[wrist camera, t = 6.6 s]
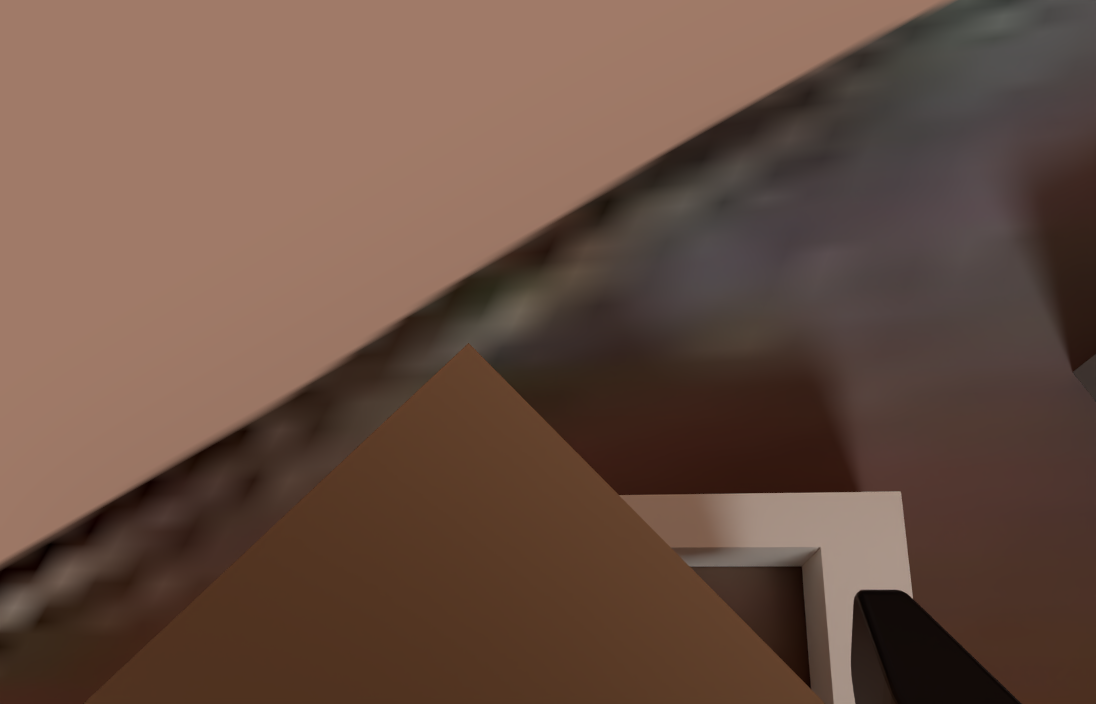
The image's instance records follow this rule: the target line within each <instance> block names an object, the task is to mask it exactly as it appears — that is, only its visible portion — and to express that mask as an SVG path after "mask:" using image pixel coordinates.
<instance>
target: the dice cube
mask: <svg viewBox="0 0 1096 704" xmlns="http://www.w3.org/2000/svg"><path fill="white" fill-rule="evenodd" d="M1073 373H1074V375H1075V376H1076V377H1077V378H1078V380H1079V381H1080V382H1081V383H1082V385H1083V386H1084V387H1085V388H1086V390H1087V391H1088V392H1089V393H1090V395H1091V396H1092V397H1093V398H1094V400H1095V401H1096V354H1095V355H1094V356H1093V357H1091V358H1090V359H1089V360H1087V361H1086V362H1085V363H1084V364H1082V365H1081V366H1080V367H1079V368H1077V369H1076V370H1075V371H1074V372H1073Z"/></svg>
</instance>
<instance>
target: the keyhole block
mask: <svg viewBox="0 0 1096 704" xmlns="http://www.w3.org/2000/svg"><path fill="white" fill-rule="evenodd" d="M619 496H620V497H621V498H622V499H623V500H624V501H625V502H626V503H627V504H628V505H629V506H630V507H631V508H632V509H633V510H634V511H635V512H636V513H637V514H638V515H639V516H640V517H641V518H642V519H643V520H644V521H645V522H646V523H647V524H648V525H649V526H650V527H651V528H652V529H653V530H654V531H655V532H656V533H657V534H658V535H659V536H660V537H661V538H662V539H663V540H664V541H665V542H666V543H667V544H668V545H669V546H670V547H671V548H672V549H673V550H674V551H675V552H676V553H677V554H678V555H679V556H680V557H681V558H682V559H683V560H684V561H685V562H686V563H687V564H688V565H689V566H802V576H803V590H804V603H805V616H806V630H807V643H808V657H809V670H810V683H811V690H812V691H813V692H814V693H815V694H816V695H817V696H818V697H819V698H820V699H821V700H822V701H823V702H824V703H825V704H855V698H854V692H853V685H852V677H851V642H852V621H853V602H854V597H855V595H856V593H857V592H859V591H860V590H901V591H903V592H905V593H907V594H908V595H909V596H910V597H911V598H912V599H913V595H912V586H911V578H910V569H909V560H908V551H907V542H906V533H905V525H904V516H903V507H902V498H901V492H825V493H748V494H671V495H619Z"/></svg>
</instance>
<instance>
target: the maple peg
mask: <svg viewBox="0 0 1096 704" xmlns="http://www.w3.org/2000/svg"><path fill="white" fill-rule="evenodd" d="M84 704H825V703H824V702H823V701H822V700H821V699H820V698H819V697H818V696H817V695H816V694H815V693H814V692H813V691H812V690H811V689H810V688H809V687H808V686H807V685H806V684H805V683H804V682H803V681H802V680H801V679H800V678H799V677H798V676H797V675H796V674H795V673H794V672H793V671H792V670H791V669H790V668H789V667H788V665H787V664H786V663H785V662H784V661H783V660H782V659H781V658H780V657H779V656H778V655H777V654H776V653H775V652H774V651H773V650H772V649H771V648H770V647H769V646H768V645H767V644H766V643H765V642H764V641H763V640H762V639H761V638H760V637H759V636H758V635H757V634H756V633H755V632H754V631H753V630H752V629H751V628H750V627H749V626H748V625H747V624H746V623H745V622H744V621H743V620H742V619H741V618H740V617H739V616H738V615H737V614H736V613H735V612H734V611H733V610H732V609H731V608H730V607H729V606H728V605H727V604H726V603H725V602H724V601H723V600H722V599H721V598H720V597H719V596H718V595H717V594H716V593H715V592H714V591H713V590H712V589H711V588H710V587H709V586H708V585H707V584H706V583H705V582H704V581H703V580H702V579H701V578H700V577H699V576H698V575H697V574H696V573H695V572H694V571H693V569H692V568H691V567H690V566H689V565H688V564H687V563H686V562H685V561H684V560H683V559H682V558H681V557H680V556H679V555H678V554H677V553H676V552H675V551H674V550H673V549H672V548H671V547H670V546H669V545H668V544H667V543H666V542H665V541H664V540H663V539H662V538H661V537H660V536H659V535H658V534H657V533H656V532H655V531H654V530H653V529H652V528H651V527H650V526H649V525H648V524H647V523H646V522H645V521H644V520H643V519H642V518H641V517H640V516H639V515H638V514H637V513H636V512H635V511H634V510H633V509H632V508H631V507H630V506H629V505H628V504H627V503H626V502H625V501H624V500H623V499H622V498H621V497H620V496H619V495H618V494H617V493H616V492H615V491H614V490H613V489H612V488H611V487H610V486H609V485H608V484H607V483H606V482H605V481H604V480H603V479H602V478H601V477H600V476H599V475H598V473H597V472H596V471H595V470H594V469H593V468H592V467H591V466H590V465H589V464H588V463H587V462H586V461H585V460H584V459H583V458H582V457H581V456H580V455H579V454H578V453H577V452H576V451H575V450H574V449H573V448H572V447H571V446H570V445H569V444H568V443H567V442H566V441H565V440H564V439H563V438H562V437H561V436H560V435H559V434H558V433H557V432H556V431H555V430H554V429H553V428H552V427H551V426H550V425H549V424H548V423H547V422H546V421H545V420H544V419H543V418H542V417H541V416H540V415H539V414H538V413H537V412H536V411H535V410H534V409H533V408H532V407H531V406H530V405H529V404H528V403H527V402H526V401H525V400H524V399H523V398H522V397H521V396H520V395H519V394H518V393H517V392H516V391H515V390H514V389H513V388H512V387H511V386H510V385H509V384H508V383H507V382H506V381H505V380H504V379H503V378H502V376H501V375H500V374H499V373H498V372H497V371H496V370H495V369H494V368H493V367H492V366H491V365H490V364H489V363H488V362H487V361H486V360H485V359H484V358H483V357H482V356H481V355H480V354H479V353H478V352H477V351H476V350H475V349H474V348H473V347H472V346H471V345H470V344H469V343H468V344H467V345H466V346H465V347H464V348H463V349H462V350H461V351H460V352H459V353H458V354H456V355H455V356H454V357H453V358H452V359H451V360H450V361H449V362H448V363H447V364H446V365H445V366H444V367H443V368H442V369H440V370H439V371H438V372H437V373H436V374H435V375H434V376H433V377H432V378H431V379H430V380H429V381H428V382H427V383H426V384H424V385H423V386H422V387H421V388H420V389H419V390H418V391H417V392H416V393H415V394H414V395H413V396H412V397H411V398H410V399H408V400H407V401H406V402H405V403H404V404H403V405H402V406H401V407H400V408H399V409H398V410H397V411H396V412H395V413H393V414H392V415H391V416H390V417H389V418H388V419H387V420H386V421H385V422H384V423H383V424H382V425H381V426H380V427H379V428H377V429H376V430H375V431H374V432H373V433H372V434H371V435H370V436H369V437H368V438H367V439H366V440H365V441H364V442H363V443H361V444H360V445H359V446H358V447H357V448H356V449H355V450H354V451H353V452H352V453H351V454H350V455H349V456H348V457H346V458H345V459H344V460H343V461H342V462H341V463H340V464H339V465H338V466H337V467H336V468H335V469H334V470H333V471H332V472H330V473H329V474H328V475H327V476H326V477H325V478H324V479H323V480H322V481H321V482H320V483H319V484H318V485H317V486H316V487H314V488H313V489H312V490H311V491H310V492H309V493H308V494H307V495H306V496H305V497H304V498H303V499H302V500H301V501H299V502H298V503H297V504H296V505H295V506H294V507H293V508H292V509H291V510H290V511H289V512H288V513H287V514H286V515H285V516H283V517H282V518H281V519H280V520H279V521H278V522H277V523H276V524H275V525H274V526H273V527H272V528H271V529H270V530H269V531H267V532H266V533H265V534H264V535H263V536H262V537H261V538H260V539H259V540H258V541H257V542H256V543H255V544H254V545H252V546H251V547H250V548H249V549H248V550H247V551H246V552H245V553H244V554H243V555H242V556H241V557H240V558H239V559H238V560H236V561H235V562H234V563H233V564H232V565H231V566H230V567H229V568H228V569H227V570H226V571H225V572H224V573H223V574H222V575H220V576H219V577H218V578H217V579H216V580H215V581H214V582H213V583H212V584H211V585H210V586H209V587H208V588H207V589H206V590H204V591H203V592H202V593H201V594H200V595H199V596H198V597H197V598H196V599H195V600H194V601H193V602H192V603H191V604H189V605H188V606H187V607H186V608H185V609H184V610H183V611H182V612H181V613H180V614H179V615H178V616H177V617H176V618H175V619H173V620H172V621H171V622H170V623H169V624H168V625H167V626H166V627H165V628H164V629H163V630H162V631H161V632H160V633H159V634H157V635H156V636H155V637H154V638H153V639H152V640H151V641H150V642H149V643H148V644H147V645H146V646H145V647H144V648H142V649H141V650H140V651H139V652H138V653H137V654H136V655H135V656H134V657H133V658H132V659H131V660H130V661H129V662H128V663H126V664H125V665H124V666H123V667H122V668H121V669H120V670H119V671H118V672H117V673H116V674H115V675H114V676H113V677H112V678H110V679H109V680H108V681H107V682H106V683H105V684H104V685H103V686H102V687H101V688H100V689H99V690H98V691H97V692H95V693H94V694H93V695H92V696H91V697H90V698H89V699H88V700H87V701H86V702H85V703H84Z"/></svg>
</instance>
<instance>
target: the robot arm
mask: <svg viewBox="0 0 1096 704" xmlns="http://www.w3.org/2000/svg"><path fill="white" fill-rule="evenodd" d="M851 677H852V685H853V692H854V698H855V704H1021V703H1020V702H1019V701H1018V700H1017V699H1016V698H1015V697H1014V696H1013V695H1012V694H1011V693H1010V692H1009V691H1008V690H1007V689H1006V688H1005V687H1004V686H1003V685H1002V684H1001V683H1000V682H999V681H998V680H996V679H995V678H994V677H993V676H992V675H991V674H990V673H989V672H988V671H987V670H986V669H985V668H984V667H983V666H982V665H981V664H980V663H979V662H978V661H977V660H976V659H975V658H974V657H973V656H972V655H971V654H970V653H968V652H967V651H966V650H965V649H964V648H963V647H962V646H961V645H960V644H959V643H958V642H957V641H956V640H955V639H954V638H953V637H952V636H951V635H950V634H949V633H948V632H947V631H946V630H945V629H944V628H943V627H941V626H940V625H939V624H938V623H937V622H936V621H935V620H934V619H933V618H932V617H931V616H930V615H929V614H928V613H927V612H926V611H925V610H924V609H923V608H922V607H921V606H920V605H919V604H918V603H917V602H916V601H914V600H913V599H912V598H911V597H910V596H909V595H908V594H907V593H905V592H903V591H901V590H860V591H859V592H857V593H856V595H855V597H854V602H853V621H852V642H851Z"/></svg>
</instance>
